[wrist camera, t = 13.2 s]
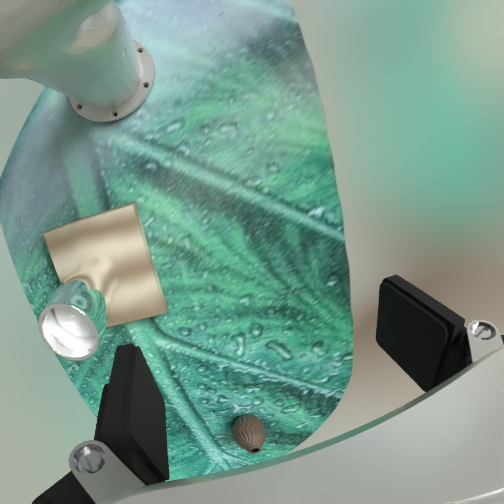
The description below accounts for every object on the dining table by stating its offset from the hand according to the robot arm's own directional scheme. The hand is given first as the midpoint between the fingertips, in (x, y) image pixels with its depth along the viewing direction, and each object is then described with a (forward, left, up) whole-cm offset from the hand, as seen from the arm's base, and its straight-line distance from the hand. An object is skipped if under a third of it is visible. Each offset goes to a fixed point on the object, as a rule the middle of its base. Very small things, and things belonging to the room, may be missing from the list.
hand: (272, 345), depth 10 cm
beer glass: (+5, -16, -30) cm, 35 cm away
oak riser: (+6, -16, -33) cm, 37 cm away
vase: (+46, -3, -33) cm, 57 cm away
